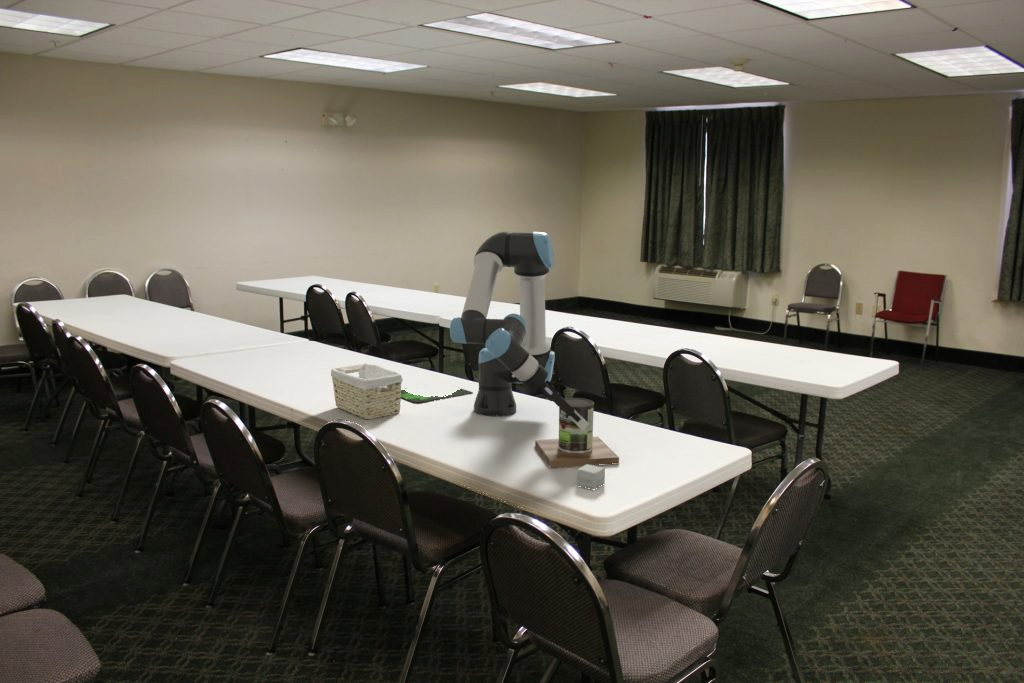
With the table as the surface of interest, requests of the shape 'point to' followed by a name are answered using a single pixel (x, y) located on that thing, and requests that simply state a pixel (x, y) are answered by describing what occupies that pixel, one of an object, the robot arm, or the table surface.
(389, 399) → the storage basket
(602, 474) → the small box
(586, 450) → the coffee can
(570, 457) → the walnut board
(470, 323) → the robot arm
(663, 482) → the table surface
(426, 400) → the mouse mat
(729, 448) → the table surface
